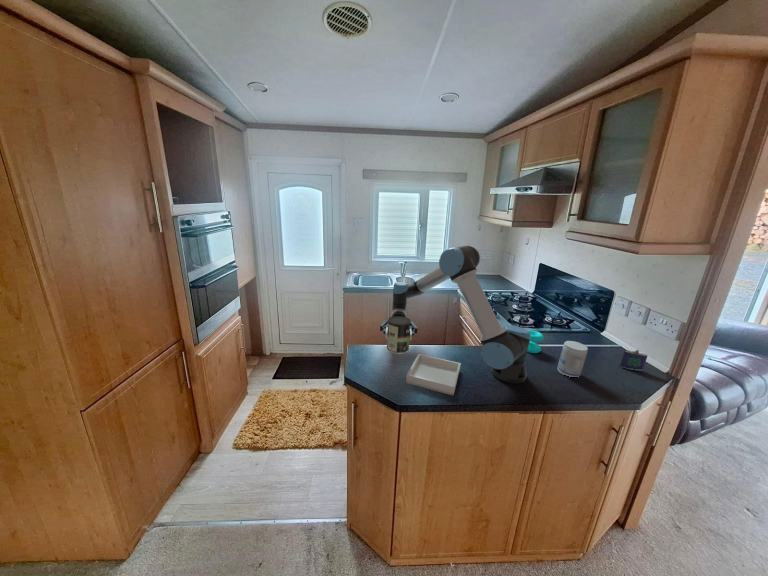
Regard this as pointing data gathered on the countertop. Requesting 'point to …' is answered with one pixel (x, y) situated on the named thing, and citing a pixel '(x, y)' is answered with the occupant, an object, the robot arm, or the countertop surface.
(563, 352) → the supplement tub
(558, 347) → the countertop surface
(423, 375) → the box
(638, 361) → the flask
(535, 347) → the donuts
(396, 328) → the coffee can
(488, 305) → the robot arm
